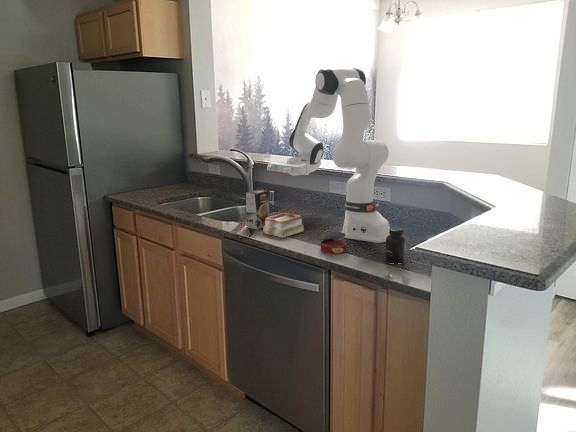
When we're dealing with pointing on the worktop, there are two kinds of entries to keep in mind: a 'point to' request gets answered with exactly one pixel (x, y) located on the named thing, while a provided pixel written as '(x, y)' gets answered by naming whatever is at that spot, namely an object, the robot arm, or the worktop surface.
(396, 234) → the supplement bottle
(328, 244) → the canned food
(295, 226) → the tower base
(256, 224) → the coffee box
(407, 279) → the worktop surface
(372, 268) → the worktop surface
